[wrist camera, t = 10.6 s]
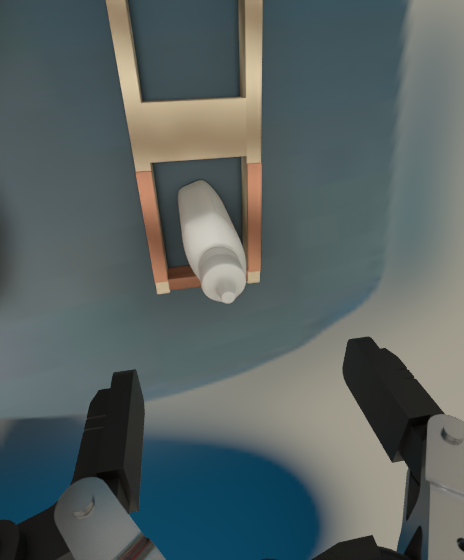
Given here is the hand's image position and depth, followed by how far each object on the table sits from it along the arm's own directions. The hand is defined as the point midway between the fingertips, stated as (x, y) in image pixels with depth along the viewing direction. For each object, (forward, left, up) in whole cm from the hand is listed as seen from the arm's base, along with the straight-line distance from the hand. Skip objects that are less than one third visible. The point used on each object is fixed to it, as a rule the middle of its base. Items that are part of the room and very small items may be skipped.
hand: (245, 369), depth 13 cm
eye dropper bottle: (0, 0, -17) cm, 17 cm away
